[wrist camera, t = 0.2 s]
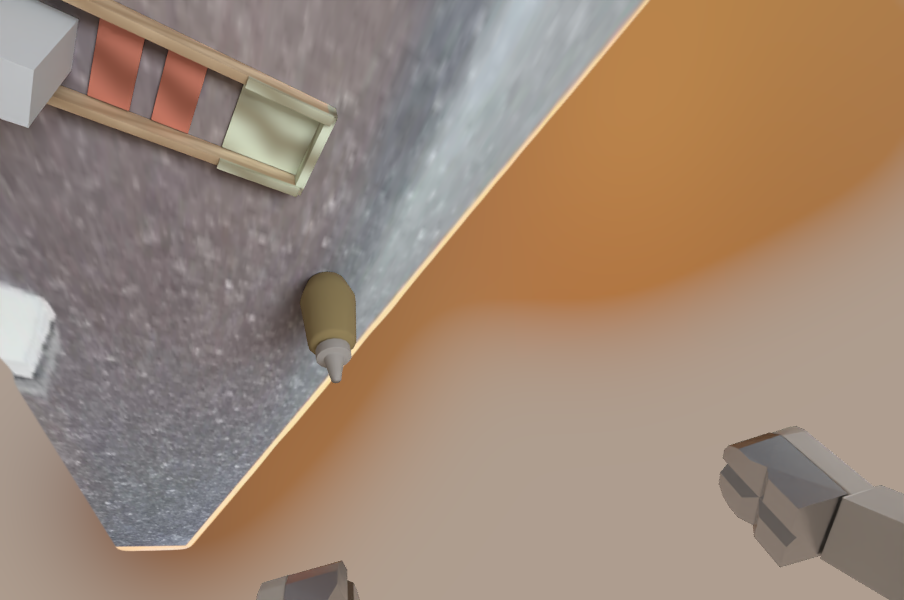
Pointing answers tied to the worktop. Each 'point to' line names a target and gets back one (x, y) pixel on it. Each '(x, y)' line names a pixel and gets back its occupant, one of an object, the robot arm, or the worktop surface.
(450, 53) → the worktop surface
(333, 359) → the squeeze bottle
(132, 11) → the channel
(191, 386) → the worktop surface
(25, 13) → the blue-grey block
